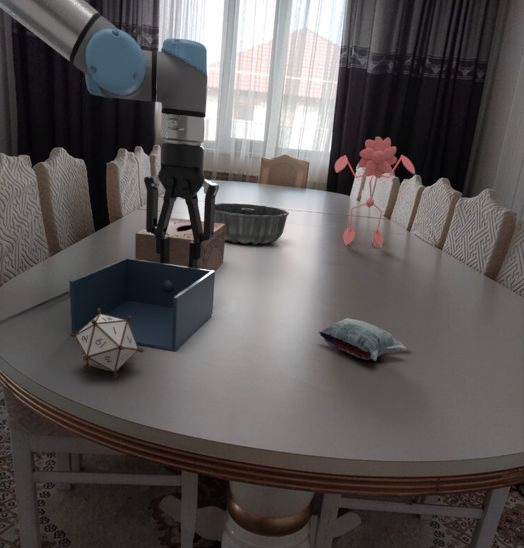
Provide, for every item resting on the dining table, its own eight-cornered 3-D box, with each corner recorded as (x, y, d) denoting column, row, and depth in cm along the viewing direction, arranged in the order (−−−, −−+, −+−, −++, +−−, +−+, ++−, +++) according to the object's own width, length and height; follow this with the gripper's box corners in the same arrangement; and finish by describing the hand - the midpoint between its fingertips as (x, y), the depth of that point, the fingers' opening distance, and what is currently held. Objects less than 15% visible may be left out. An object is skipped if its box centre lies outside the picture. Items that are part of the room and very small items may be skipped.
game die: (77, 332, 61) (50, 322, 68) (103, 394, 64) (74, 378, 72) (142, 303, 66) (110, 297, 73) (164, 362, 69) (131, 351, 76)
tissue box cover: (169, 256, 137) (170, 217, 133) (223, 262, 136) (225, 224, 132) (135, 279, 113) (135, 233, 110) (199, 287, 112) (202, 241, 108)
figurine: (322, 241, 180) (337, 132, 167) (394, 247, 183) (414, 140, 170) (330, 250, 166) (347, 132, 153) (408, 256, 169) (431, 141, 155)
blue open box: (175, 351, 78) (177, 297, 75) (71, 333, 81) (69, 280, 78) (229, 300, 106) (232, 258, 102) (150, 287, 108) (150, 247, 105)
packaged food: (350, 336, 92) (354, 309, 90) (405, 360, 84) (410, 331, 82) (315, 345, 87) (319, 317, 85) (370, 371, 79) (375, 341, 77)
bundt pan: (198, 243, 157) (200, 209, 153) (210, 229, 181) (211, 199, 177) (285, 252, 157) (289, 218, 153) (285, 237, 181) (288, 207, 177)
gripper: (124, 137, 88) (125, 271, 97) (226, 148, 85) (217, 285, 94) (143, 138, 95) (142, 263, 104) (238, 148, 92) (229, 275, 101)
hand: (178, 273), depth 99 cm, fingers open, 5 cm apart
